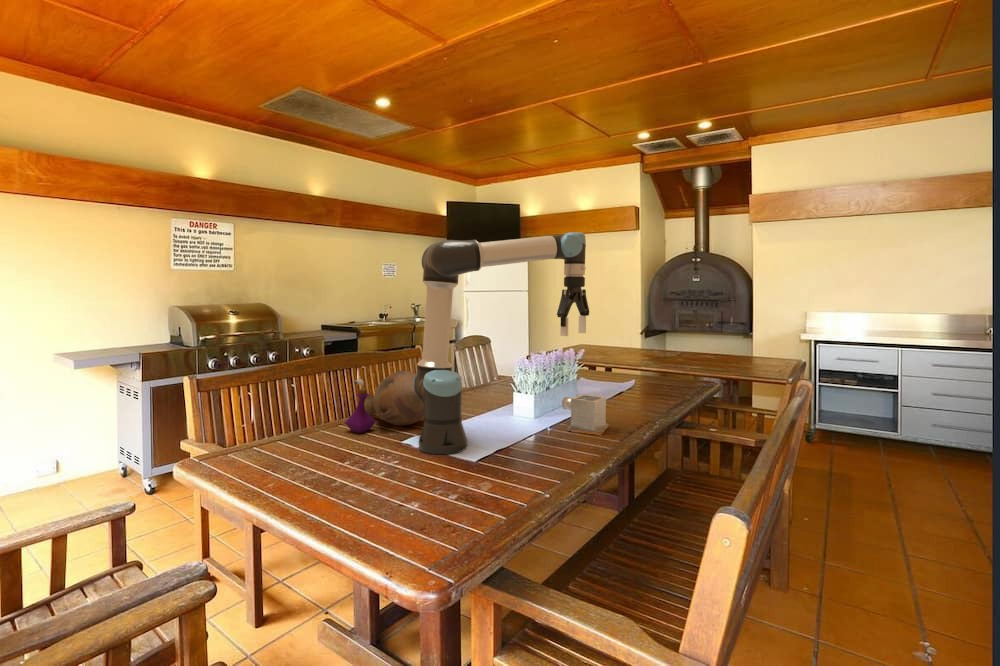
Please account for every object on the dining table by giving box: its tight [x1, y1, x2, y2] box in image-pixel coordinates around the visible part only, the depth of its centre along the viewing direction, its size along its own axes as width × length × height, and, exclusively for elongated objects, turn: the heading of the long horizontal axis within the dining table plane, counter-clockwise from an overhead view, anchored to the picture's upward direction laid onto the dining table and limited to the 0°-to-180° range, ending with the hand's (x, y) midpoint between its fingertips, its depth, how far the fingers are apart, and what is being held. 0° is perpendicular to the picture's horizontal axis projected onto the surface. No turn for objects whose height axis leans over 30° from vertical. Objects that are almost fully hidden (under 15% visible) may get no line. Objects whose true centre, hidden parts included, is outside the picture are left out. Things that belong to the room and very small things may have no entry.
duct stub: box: [566, 423, 610, 433], centre depth 181 cm, size 12×12×9 cm
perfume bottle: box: [344, 378, 376, 434], centre depth 177 cm, size 8×8×18 cm
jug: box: [364, 370, 424, 426], centre depth 189 cm, size 20×20×30 cm
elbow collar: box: [561, 394, 607, 431], centre depth 182 cm, size 14×9×10 cm, turn 54°
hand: (573, 334), depth 188 cm, fingers open, 13 cm apart
